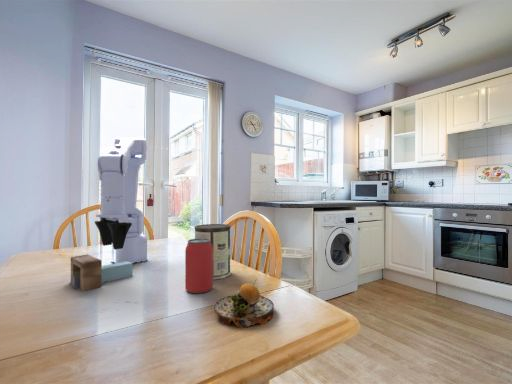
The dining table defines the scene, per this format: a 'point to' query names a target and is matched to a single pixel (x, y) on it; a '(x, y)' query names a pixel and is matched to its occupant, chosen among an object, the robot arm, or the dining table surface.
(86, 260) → the brown block
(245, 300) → the plated food dish
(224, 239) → the coffee can
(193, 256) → the beer can
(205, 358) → the dining table surface
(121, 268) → the light blue pillar
